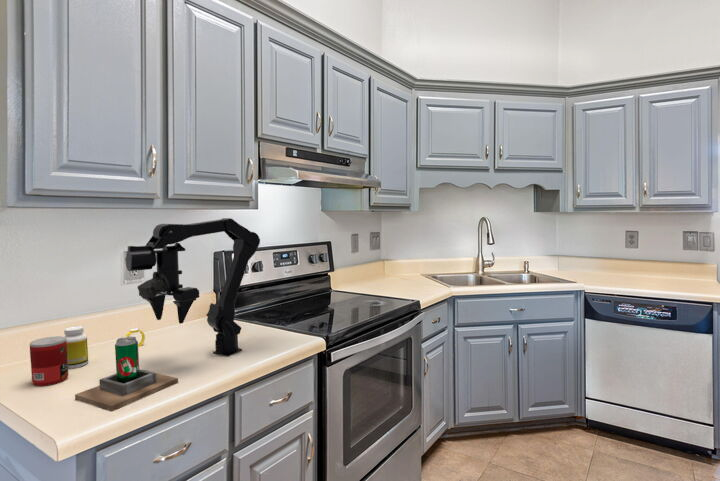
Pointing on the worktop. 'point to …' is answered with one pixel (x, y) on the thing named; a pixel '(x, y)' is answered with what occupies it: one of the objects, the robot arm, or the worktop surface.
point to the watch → (137, 331)
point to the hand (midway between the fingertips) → (169, 321)
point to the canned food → (49, 360)
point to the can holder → (125, 390)
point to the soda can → (127, 359)
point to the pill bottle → (76, 347)
